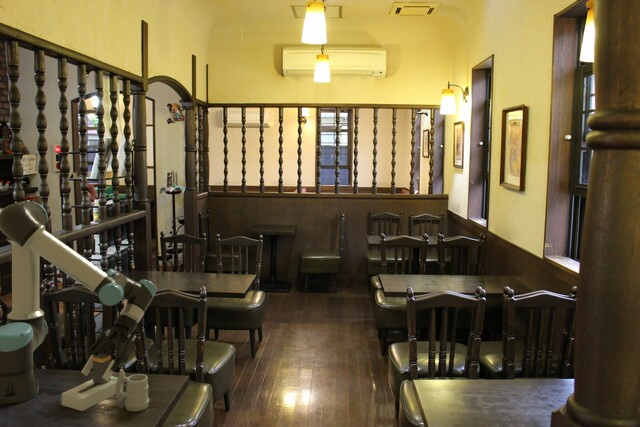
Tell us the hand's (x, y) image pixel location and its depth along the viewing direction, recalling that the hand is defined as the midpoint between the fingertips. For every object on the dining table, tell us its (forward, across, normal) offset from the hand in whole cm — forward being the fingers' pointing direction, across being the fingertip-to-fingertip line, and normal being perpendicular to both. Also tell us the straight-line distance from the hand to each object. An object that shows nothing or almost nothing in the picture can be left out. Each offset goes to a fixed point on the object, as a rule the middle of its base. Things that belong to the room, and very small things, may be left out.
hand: (94, 376), depth 177 cm
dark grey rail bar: (-2, 0, -12) cm, 13 cm away
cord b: (-4, -2, -14) cm, 14 cm away
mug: (+5, -16, -6) cm, 17 cm away
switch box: (+5, 0, -5) cm, 7 cm away
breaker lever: (0, 0, -4) cm, 4 cm away
